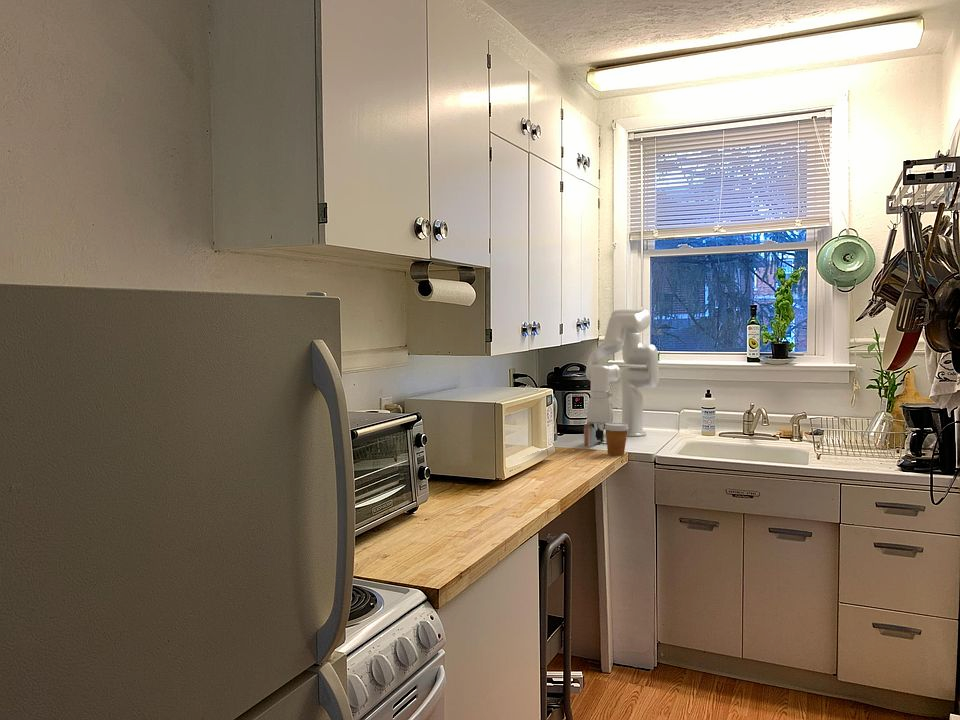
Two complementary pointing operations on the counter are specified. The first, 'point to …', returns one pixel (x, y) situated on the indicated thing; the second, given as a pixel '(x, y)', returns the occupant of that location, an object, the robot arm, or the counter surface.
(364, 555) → the counter surface
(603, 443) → the hinge post
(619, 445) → the disposable coffee cup
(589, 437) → the bar
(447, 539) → the counter surface
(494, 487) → the counter surface
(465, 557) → the counter surface
